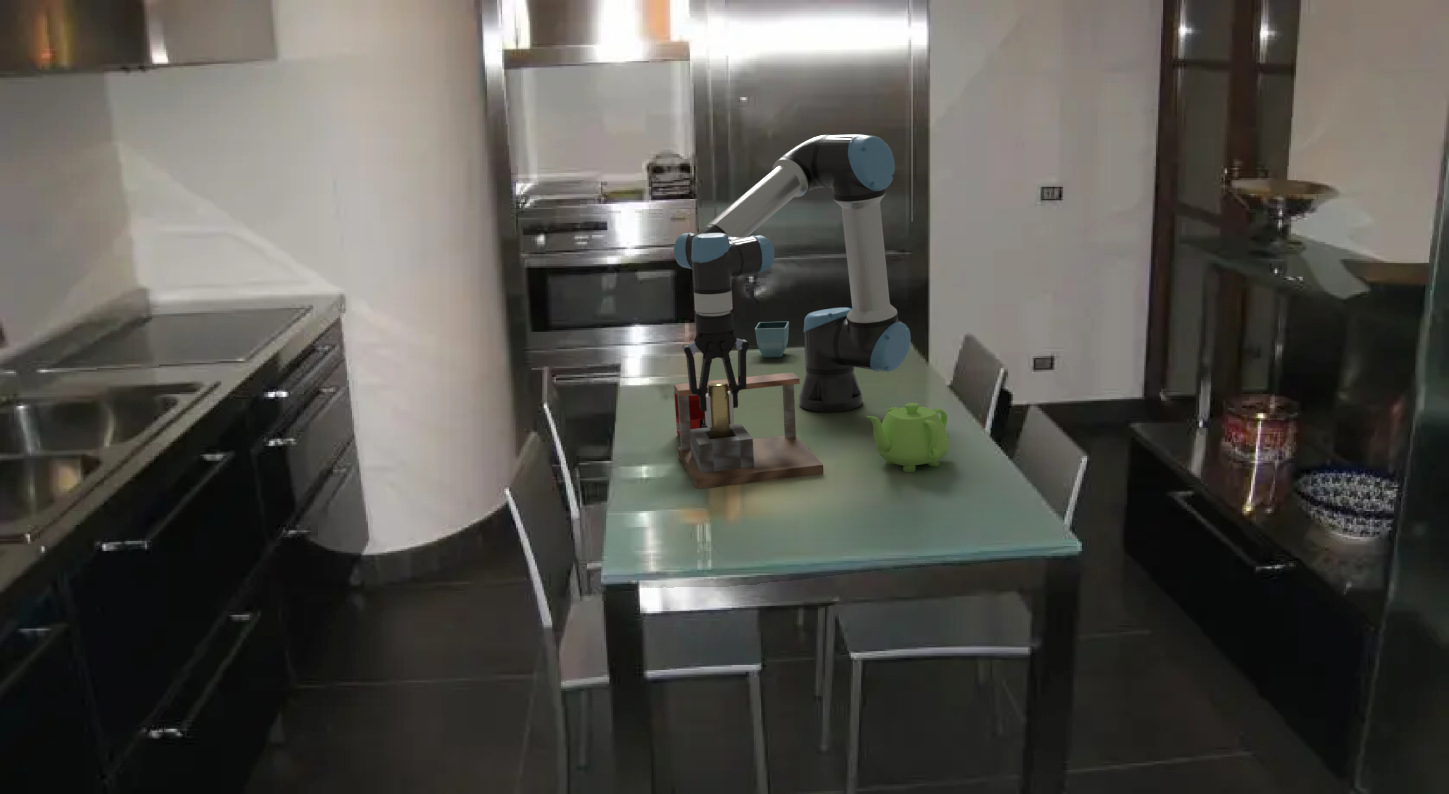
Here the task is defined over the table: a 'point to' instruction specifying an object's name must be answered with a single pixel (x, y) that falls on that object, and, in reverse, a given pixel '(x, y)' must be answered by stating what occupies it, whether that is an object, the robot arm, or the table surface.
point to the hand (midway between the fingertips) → (719, 424)
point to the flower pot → (772, 338)
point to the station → (744, 444)
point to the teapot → (911, 436)
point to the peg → (719, 410)
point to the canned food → (692, 413)
